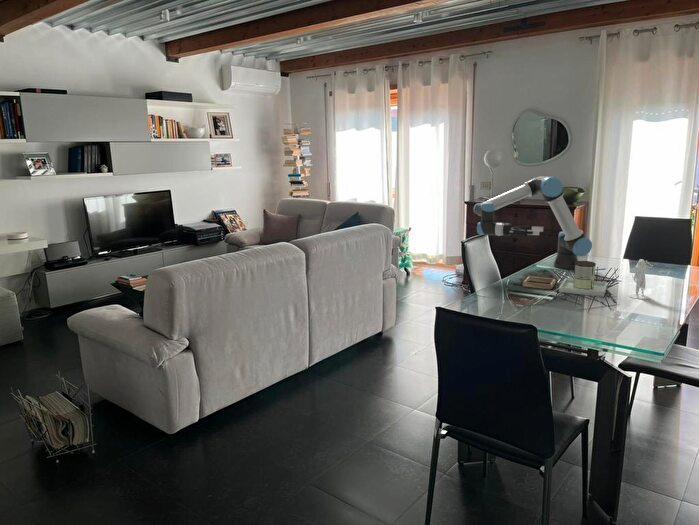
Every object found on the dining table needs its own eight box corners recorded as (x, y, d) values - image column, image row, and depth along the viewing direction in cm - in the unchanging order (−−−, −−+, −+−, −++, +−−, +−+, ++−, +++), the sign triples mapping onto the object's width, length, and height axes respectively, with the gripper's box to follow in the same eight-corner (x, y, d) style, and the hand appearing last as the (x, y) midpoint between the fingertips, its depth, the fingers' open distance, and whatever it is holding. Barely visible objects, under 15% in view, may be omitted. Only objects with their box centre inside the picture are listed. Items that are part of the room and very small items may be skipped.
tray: (564, 282, 302) (565, 278, 302) (607, 286, 292) (607, 282, 291) (558, 291, 284) (559, 287, 283) (603, 296, 273) (604, 292, 272)
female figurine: (621, 299, 267) (625, 261, 263) (628, 292, 279) (632, 255, 275) (645, 303, 261) (649, 264, 256) (652, 296, 273) (656, 258, 268)
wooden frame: (528, 280, 309) (528, 276, 308) (555, 283, 301) (555, 278, 301) (522, 286, 296) (523, 282, 295) (550, 289, 289) (551, 285, 288)
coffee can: (570, 285, 293) (572, 260, 290) (589, 285, 292) (591, 260, 289) (576, 290, 283) (578, 264, 280) (596, 290, 282) (598, 264, 279)
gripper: (508, 232, 325) (544, 234, 315) (498, 239, 304) (537, 241, 294) (508, 220, 323) (545, 221, 313) (499, 226, 302) (537, 227, 292)
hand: (541, 231), depth 304 cm, fingers open, 13 cm apart
